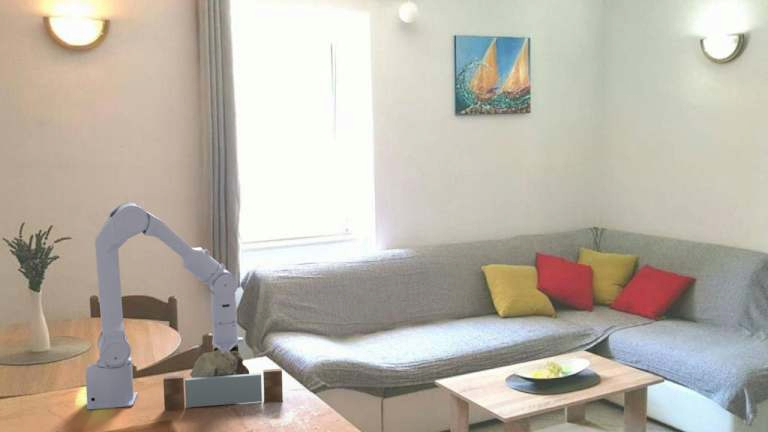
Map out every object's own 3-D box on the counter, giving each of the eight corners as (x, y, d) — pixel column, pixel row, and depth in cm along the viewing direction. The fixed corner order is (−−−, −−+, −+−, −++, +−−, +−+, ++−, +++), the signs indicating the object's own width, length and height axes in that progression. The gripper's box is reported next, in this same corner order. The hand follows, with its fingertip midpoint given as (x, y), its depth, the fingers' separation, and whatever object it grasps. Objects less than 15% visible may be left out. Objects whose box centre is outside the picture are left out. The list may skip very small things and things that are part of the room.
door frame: (164, 410, 153) (163, 379, 152) (165, 408, 154) (164, 376, 154) (282, 401, 158) (281, 370, 157) (282, 399, 159) (281, 368, 158)
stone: (260, 350, 161) (246, 340, 170) (196, 354, 154) (185, 344, 163) (257, 397, 161) (243, 385, 170) (194, 404, 154) (183, 391, 163)
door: (185, 407, 154) (184, 380, 153) (186, 405, 155) (185, 378, 154) (261, 401, 157) (261, 374, 156) (261, 399, 158) (261, 373, 157)
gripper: (242, 327, 160) (245, 386, 162) (241, 312, 174) (244, 366, 176) (210, 330, 159) (213, 389, 161) (211, 314, 173) (215, 368, 175)
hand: (227, 377), depth 168 cm, fingers closed, pressing on stone
